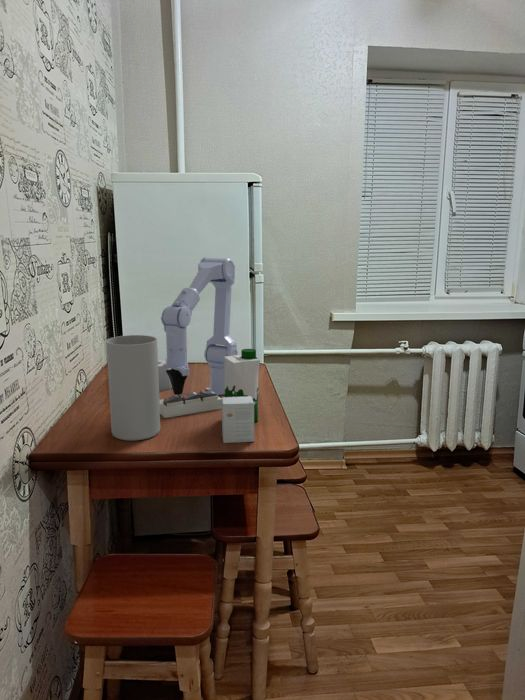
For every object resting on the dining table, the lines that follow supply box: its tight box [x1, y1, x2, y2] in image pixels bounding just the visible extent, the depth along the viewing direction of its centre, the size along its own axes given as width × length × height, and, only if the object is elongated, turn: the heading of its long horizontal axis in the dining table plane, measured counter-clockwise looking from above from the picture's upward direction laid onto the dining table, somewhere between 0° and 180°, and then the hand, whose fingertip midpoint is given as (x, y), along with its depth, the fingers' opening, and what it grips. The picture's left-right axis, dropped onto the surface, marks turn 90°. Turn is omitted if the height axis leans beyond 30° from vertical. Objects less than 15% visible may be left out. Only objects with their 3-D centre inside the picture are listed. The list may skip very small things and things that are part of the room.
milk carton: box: [224, 348, 261, 423], centre depth 144 cm, size 9×9×20 cm
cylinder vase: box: [105, 334, 161, 442], centre depth 134 cm, size 12×12×25 cm
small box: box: [221, 396, 255, 444], centre depth 132 cm, size 8×6×10 cm
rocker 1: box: [163, 394, 182, 405], centre depth 150 cm, size 4×3×2 cm, turn 119°
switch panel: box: [159, 395, 222, 419], centre depth 155 cm, size 22×8×4 cm, turn 119°
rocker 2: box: [182, 391, 200, 402], centre depth 152 cm, size 4×3×2 cm, turn 119°
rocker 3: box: [198, 390, 218, 398], centre depth 155 cm, size 4×3×2 cm, turn 119°
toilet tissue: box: [158, 359, 172, 392], centre depth 177 cm, size 9×13×9 cm
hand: (178, 393), depth 150 cm, fingers closed
